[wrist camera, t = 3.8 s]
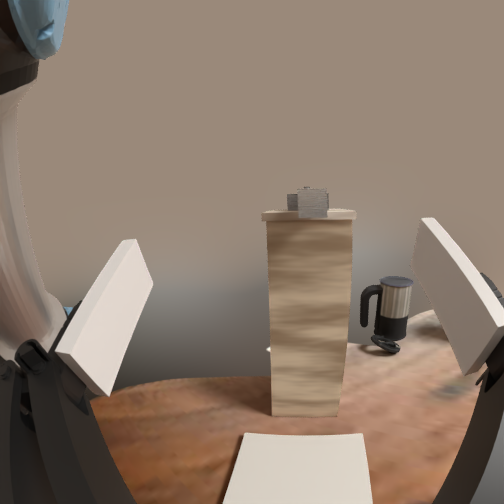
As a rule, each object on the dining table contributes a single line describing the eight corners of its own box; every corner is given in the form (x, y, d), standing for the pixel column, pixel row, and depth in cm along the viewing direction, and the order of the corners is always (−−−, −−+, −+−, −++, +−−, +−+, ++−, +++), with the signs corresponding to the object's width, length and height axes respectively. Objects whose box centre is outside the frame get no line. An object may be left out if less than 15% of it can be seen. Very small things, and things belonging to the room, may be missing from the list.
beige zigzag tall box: (276, 378, 53) (271, 210, 47) (335, 378, 51) (343, 208, 45) (268, 417, 41) (261, 213, 36) (340, 418, 39) (356, 211, 34)
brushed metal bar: (289, 209, 47) (288, 187, 46) (325, 208, 46) (324, 187, 45) (276, 218, 24) (274, 175, 23) (348, 217, 22) (346, 173, 22)
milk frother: (395, 324, 72) (401, 274, 69) (426, 348, 56) (436, 290, 54) (352, 332, 71) (356, 279, 68) (378, 360, 55) (387, 298, 52)
